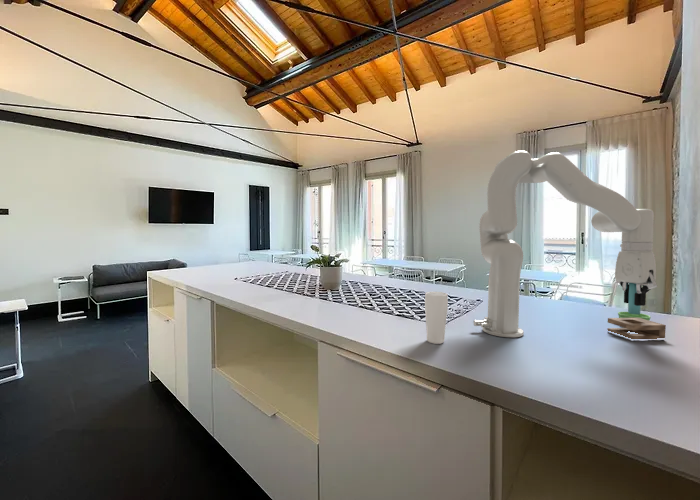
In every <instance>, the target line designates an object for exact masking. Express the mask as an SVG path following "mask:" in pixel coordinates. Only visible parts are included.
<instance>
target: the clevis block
mask: <svg viewBox="0 0 700 500" xmlns="http://www.w3.org/2000/svg"><path fill="white" fill-rule="evenodd" d="M607 323H608V324H611V325H614V326H617V327H609V328H606V329H607V330H608V331H611V332H614V333H617V334H620V335H623V336H625V337H628V338H631V339H657V338H665V339H666V328H667V327H666V324H664V323H661V322H656V321H653V320H645V319H642V318H619V317H607ZM628 331H630V332H635V333H638V334H630V333H627V332H628Z"/></svg>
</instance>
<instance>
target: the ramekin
mask: <svg viewBox="0 0 700 500" xmlns="http://www.w3.org/2000/svg"><path fill="white" fill-rule="evenodd" d="M617 316H618V318H642V319H645V320H649V321H651V315H650V314H646V313H642V312H640V314H630V313H628V311H618V312H617Z"/></svg>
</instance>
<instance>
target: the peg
mask: <svg viewBox="0 0 700 500" xmlns="http://www.w3.org/2000/svg"><path fill="white" fill-rule="evenodd" d="M628 284H629V301H628V303H627V304H628V305H627V306H628V307H627V310H628V311H627V312H628V313H630V314H640V313H641V307H642V306H636V305H634V299H635V293H637V288H636V284H635V283H628Z"/></svg>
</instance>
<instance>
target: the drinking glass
mask: <svg viewBox="0 0 700 500" xmlns="http://www.w3.org/2000/svg"><path fill="white" fill-rule="evenodd" d="M448 300H449V297H448V293H446V292H441V291H427V292H425V294H424V312H425V313H424V314H425V327H426V341H427V342H428V343H430V344H434V345H439V344H440V345H441V344H443V343H445V340H446V339H445V338H446V337H445V336H446V334H445V333H446V325H447V316H448V304H449V303H448V302H449V301H448Z"/></svg>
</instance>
